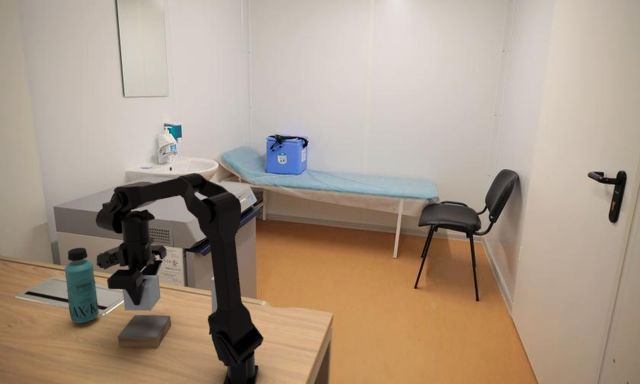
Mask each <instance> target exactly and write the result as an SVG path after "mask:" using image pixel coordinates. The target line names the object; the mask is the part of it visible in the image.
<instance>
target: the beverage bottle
mask: <svg viewBox="0 0 640 384" xmlns="http://www.w3.org/2000/svg"><path fill="white" fill-rule="evenodd" d="M67 254H68V255H67V260H68V261H70V262H69V263H68V264H67V265H66V266H65V267H64V275H65V280H66V281H65V282H66V288H67V289H66V292H67V300H68V303H67V304H68V310H69V316H70V320H71V321H72V322H74V323H77V324H79V323H80V324H82V323H86V322H89V321H92V320H93V319H95V318H96V317H98V315H99V313H100V312H99V308H100V307H99V301H98V295H97V287H96V283H97V281H96V280H95V272H94V271H95V270H94V263H93V262H91V261H90V260H88V259H86V258H88V252H87V249H86V248H84V247H75V248H72V249H70V250H68V251H67Z"/></svg>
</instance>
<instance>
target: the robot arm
mask: <svg viewBox="0 0 640 384" xmlns="http://www.w3.org/2000/svg"><path fill="white" fill-rule="evenodd" d="M196 193H198V194H199V195H201V196H203V197H205V198H202V199H201V198H200V197H198V196H197V195H196ZM175 197H181V198H182V199H183V200H184V201H183V202H184V205H185V207H186V210H187V211H188V212H189V213H190V214H191V215H193V216H194V217H195V218H196V219H197V223H198V225H199V227H198V228H199V229H200V231H201V232H202V234H203V235H204V236H205V237H206V238H207V240H208V242H209V247H210V256H211V263H212V264H211V265H212V272H213V273H212V274H213V277H214V283H215V291H216V300H217V309H216V311H215V312H214V313H212V312H211V313H210V314H209V315H207V316H208V317H207V323H208V327H209V331H208V335H209V336H210V335H211V341H212V343H213V346H214V350H215V353H216V355H217V359H218V360H219V361H220V362H222V363H223V366H224V367H227V371H226V374H225V378H224V380H223V384H256V382H257V377H258V374H259V365H258V364H256V362H255V361H256V358H255V357H256V356H255V351H256V350H257V349H258V348H259V347H260V346H262V345H263V343H264V336H263V335H262V334H261V332H260V331H259V329H258V328H257V327H256V325H255V323H254V322H253V320H252V316H251V313H250V310H249V309H248V308H247V306H246V305H245V304H244V303H243V301H242V300H243V299H242V295H241V294H242V293H241V283H240V274H239V272H240V271H239V263H238V254H237V252H238V251H237V242H236V236H237V233H238V230H239V228H240V224H241V221H242V203H241V200H240V199H239V198H238V197H237V196H236V195H235V194H234V193H232V192H230V191H229V190H228V189H226V188H225V187H224V186H222V185H220V184H217V183H215V182H213V181H210V180H208V179H207V178H206V177H204V175H202V174H200V173H197V172H191V173H188V174H183V175H179V176H178V177H176V178H172V179H167V180H163V181H159V182H151V181H138V182H137V181H136V182H133V183H132V182H131V183H129V184H124V185H120V186H116V187H114V189H113V193H112V196H111V198H110V200H109V201H107V202H104V203H102V204H101V206H102V208H101V209H100V210H99V211H98V213H97V215H96V216H95V217H96V218H95V224H96V226H97V227H98V228H99V229H100V230H104V231H107V232H112V233H115V234H118V235H120V234H121V235H122V241H123V242H122V243H120V244H119V245H118V246H116V247H113V248H110V249H107V250H105V251H104V252H100V253H99V254H97V255H96V259H95V260H96V266H98V267H99V268H100V269H103V270H108V269H109V268H111V267H114V266H116V265H119V267H120V268H121V269H119V268H118V269H117V270H115V272H114V273H113V274H112V275H111V276H110V277H108V278H107V280H106V282H107V283H106V284H107V289H109V290H123V289H125V290H126V291H127V293H128V295H129V296H130V298H131V300H132V302H133V304H134V305H140V302H141V298H142V295H143V291H144V287H145V283H146V279H143V275H152V276H158V273H159V271H160V268H161V267H162V263H164V261H163V260H164V259H165V258H166V257H167V256H168V255H167V248H166V247H165V246H164V245H161V244H153V243H154V242H155V237H151V231H150V221H153V220H156V219H155V217H156V216H155V215H154V214H153V213H151V212H150V211H149V210H148V209H147V208H146V209H143V210H137V209H140V208H144V207H147V206H150V205H152V204H154V203H155V202H157V201H160V200H163V199H164V200H165V199H170V198H175ZM156 256H159V257H158V258H159V259H158V258H157V257H156ZM122 267H124V268H125V267H127V268H126V269H122Z"/></svg>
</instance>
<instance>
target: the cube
mask: <svg viewBox="0 0 640 384" xmlns="http://www.w3.org/2000/svg"><path fill="white" fill-rule="evenodd" d="M159 277H160V276H159V275H157V276H152V275H143V279H146V283H145V287H144V291H143V295H142V298H141V302H140V305H134V304H133V302H132V300H131V298H130V296H129V295H128V293H127V291H126V290H125V289H122V297H123V305H124V311H139V312H141V311H142V312H143V311H144V312H147V311H150V312H151V311H152V310H153V309H154V308H155V306H156V305H157V304H158V303H159V301H160V300H161V288H160V286H161V285H160V278H159Z"/></svg>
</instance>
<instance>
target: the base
mask: <svg viewBox="0 0 640 384" xmlns="http://www.w3.org/2000/svg"><path fill="white" fill-rule="evenodd" d="M171 326H172V323H171V315H159V314H158V315H155V314H154V315H153V314H134V315H133V316H132V318H131V319H130V320H129V321H128V323H127V324H126V325H125V326H124V327H123V329H122V330H121V331H120V333H119V334H118V335H117V341H118V348H132V349H133V348H141V349H143V348H144V349H158V348H159V346H160V344H161V343H162V341H163V340H164V338H165V337H166V335H167V333H168V331H169V330H170V328H171Z"/></svg>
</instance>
